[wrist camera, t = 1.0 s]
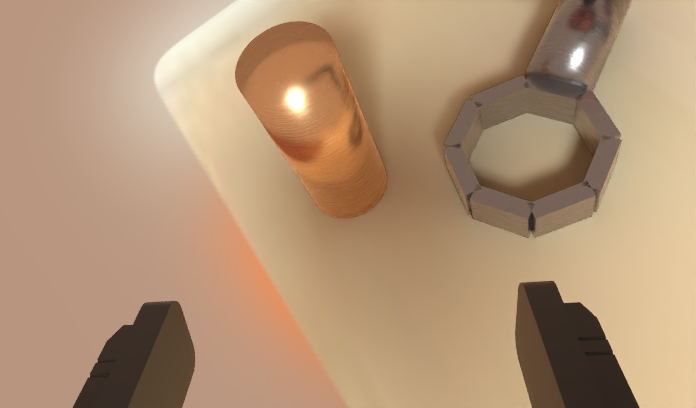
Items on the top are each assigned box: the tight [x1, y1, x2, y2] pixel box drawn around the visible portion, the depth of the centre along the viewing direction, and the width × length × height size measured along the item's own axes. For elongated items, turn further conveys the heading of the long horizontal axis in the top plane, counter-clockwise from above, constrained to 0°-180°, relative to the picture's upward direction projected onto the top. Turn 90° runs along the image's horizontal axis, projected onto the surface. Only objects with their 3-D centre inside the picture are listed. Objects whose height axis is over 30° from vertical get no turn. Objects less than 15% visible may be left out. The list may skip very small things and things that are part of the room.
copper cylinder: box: [235, 22, 387, 218], centre depth 33 cm, size 5×5×12 cm
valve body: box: [444, 0, 632, 238], centre depth 34 cm, size 18×9×7 cm, turn 152°
